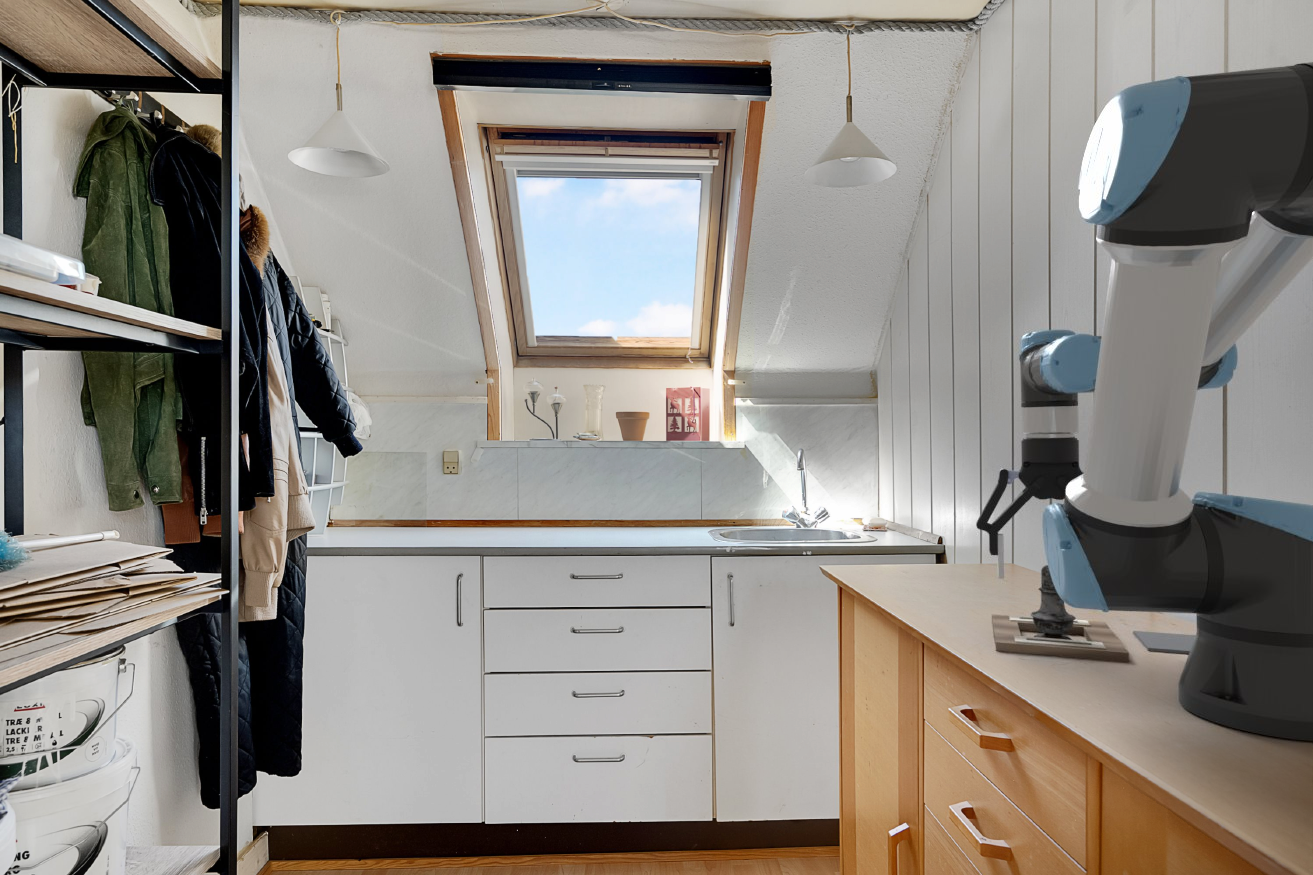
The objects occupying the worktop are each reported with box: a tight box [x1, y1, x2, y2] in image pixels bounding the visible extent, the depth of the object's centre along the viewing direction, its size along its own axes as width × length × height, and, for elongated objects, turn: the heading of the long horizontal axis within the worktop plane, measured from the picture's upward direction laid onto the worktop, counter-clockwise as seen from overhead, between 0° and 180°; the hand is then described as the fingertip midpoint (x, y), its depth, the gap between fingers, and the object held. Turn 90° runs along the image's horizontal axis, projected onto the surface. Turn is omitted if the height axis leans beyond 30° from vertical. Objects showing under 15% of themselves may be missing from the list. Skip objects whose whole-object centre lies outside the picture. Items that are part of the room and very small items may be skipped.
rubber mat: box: [1132, 630, 1196, 655], centre depth 106 cm, size 10×10×1 cm
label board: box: [991, 614, 1130, 663], centre depth 110 cm, size 18×16×2 cm
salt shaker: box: [1030, 564, 1077, 640], centre depth 110 cm, size 6×6×12 cm
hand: (1051, 579), depth 110 cm, fingers open, 13 cm apart
